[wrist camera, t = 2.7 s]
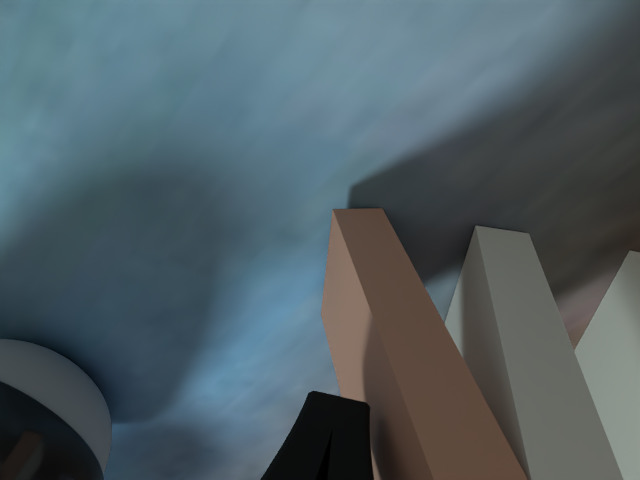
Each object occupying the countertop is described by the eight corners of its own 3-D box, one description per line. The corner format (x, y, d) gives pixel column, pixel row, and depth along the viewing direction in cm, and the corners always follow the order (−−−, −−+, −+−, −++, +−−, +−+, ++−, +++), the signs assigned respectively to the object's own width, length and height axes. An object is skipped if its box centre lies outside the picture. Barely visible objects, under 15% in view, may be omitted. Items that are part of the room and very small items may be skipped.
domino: (528, 233, 15) (653, 556, 7) (488, 336, 17) (549, 655, 10) (475, 225, 15) (544, 535, 7) (443, 328, 17) (469, 637, 10)
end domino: (382, 208, 15) (533, 490, 8) (363, 311, 18) (466, 597, 10) (332, 208, 15) (442, 503, 8) (320, 313, 17) (395, 611, 10)
